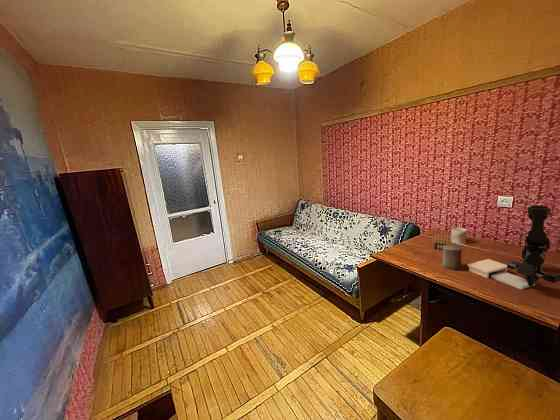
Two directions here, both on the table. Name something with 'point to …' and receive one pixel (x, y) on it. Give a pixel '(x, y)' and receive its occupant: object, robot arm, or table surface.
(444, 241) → the ammunition clip
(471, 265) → the cream rectangular slab
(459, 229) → the mug
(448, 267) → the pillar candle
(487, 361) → the table surface
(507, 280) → the pale wall plate
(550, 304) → the table surface
